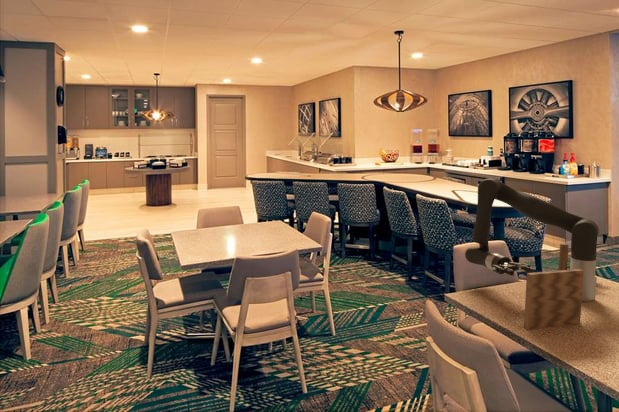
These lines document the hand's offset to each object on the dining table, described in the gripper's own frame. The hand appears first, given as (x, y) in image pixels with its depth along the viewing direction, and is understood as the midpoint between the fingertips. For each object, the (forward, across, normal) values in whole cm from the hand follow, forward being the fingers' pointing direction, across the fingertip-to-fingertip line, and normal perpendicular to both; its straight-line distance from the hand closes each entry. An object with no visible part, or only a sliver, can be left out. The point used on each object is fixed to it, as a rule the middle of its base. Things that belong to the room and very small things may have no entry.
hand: (522, 272), depth 199 cm
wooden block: (-22, +42, +14) cm, 49 cm away
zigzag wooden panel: (+18, -3, +14) cm, 23 cm away
